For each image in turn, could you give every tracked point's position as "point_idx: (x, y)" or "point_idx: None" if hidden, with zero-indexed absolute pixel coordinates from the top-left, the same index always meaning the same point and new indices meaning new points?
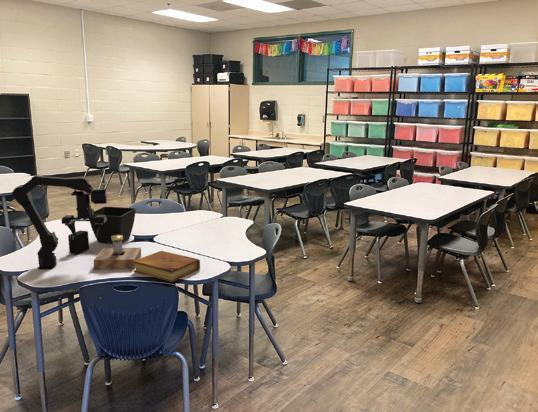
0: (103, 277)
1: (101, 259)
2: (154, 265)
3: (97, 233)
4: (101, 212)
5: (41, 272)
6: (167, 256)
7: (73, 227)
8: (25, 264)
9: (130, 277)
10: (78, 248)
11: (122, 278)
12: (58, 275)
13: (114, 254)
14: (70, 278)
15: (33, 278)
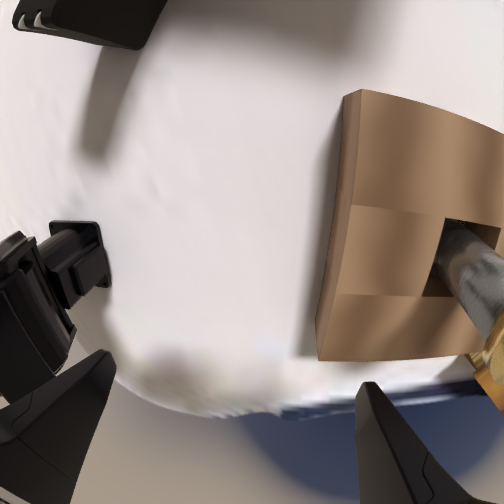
0: (354, 389)
1: (362, 354)
2: (498, 400)
3: (394, 419)
4: None
5: (96, 311)
6: None
7: (55, 467)
8: (10, 212)
9: (433, 386)
10: (132, 22)
11: (410, 393)
12: (174, 354)
13: (443, 281)
14: (233, 385)
15: None
